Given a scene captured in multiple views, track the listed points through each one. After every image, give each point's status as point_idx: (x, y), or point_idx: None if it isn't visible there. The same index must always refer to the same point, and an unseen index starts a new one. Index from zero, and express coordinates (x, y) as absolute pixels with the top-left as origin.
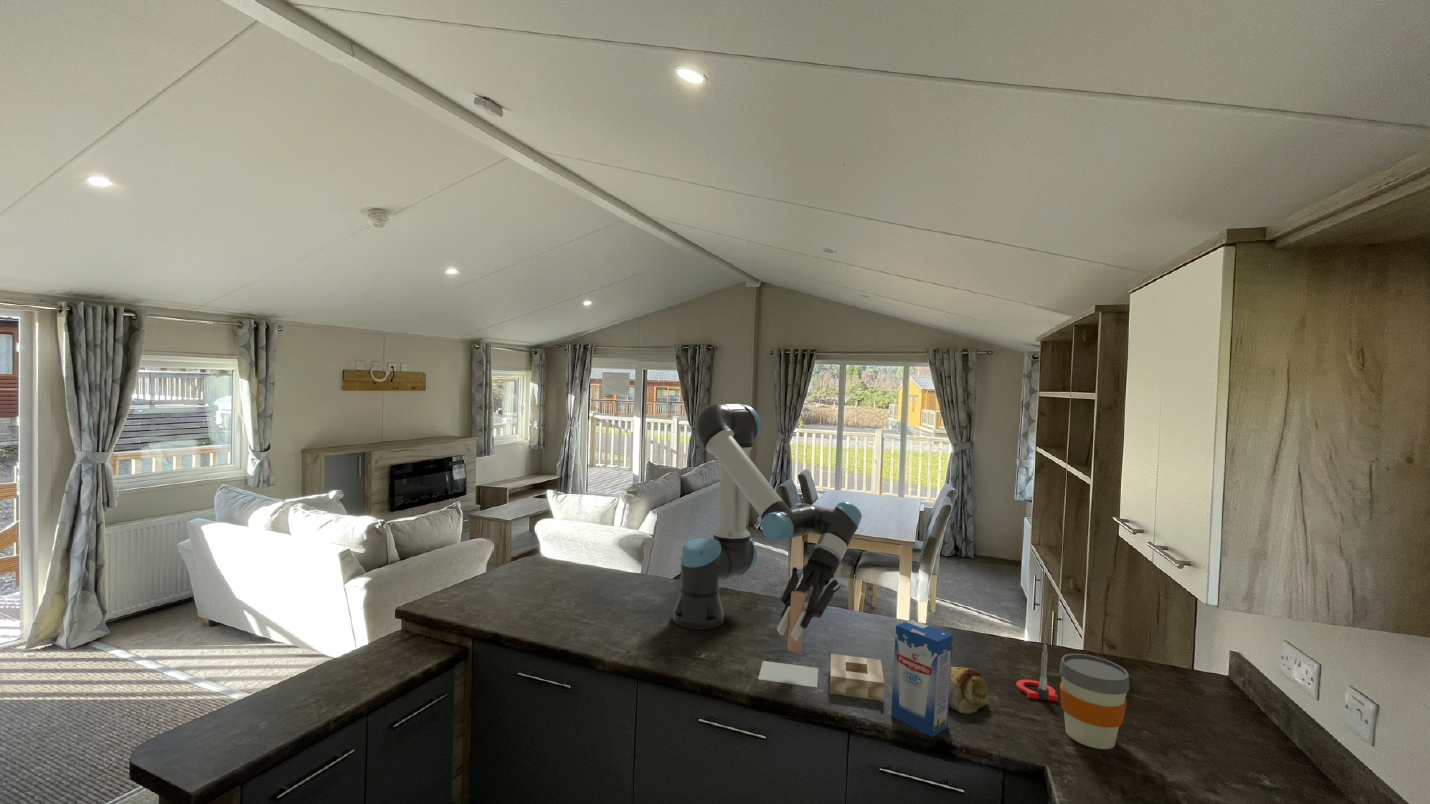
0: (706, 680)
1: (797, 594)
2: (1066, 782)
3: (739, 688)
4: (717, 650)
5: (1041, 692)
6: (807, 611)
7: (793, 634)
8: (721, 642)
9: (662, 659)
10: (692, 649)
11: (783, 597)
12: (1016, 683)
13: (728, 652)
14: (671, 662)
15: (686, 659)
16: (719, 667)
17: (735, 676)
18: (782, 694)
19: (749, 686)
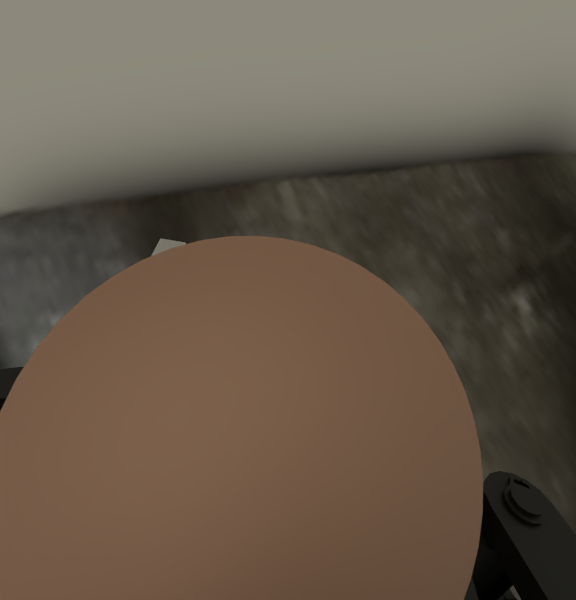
0: (410, 171)
1: (232, 340)
2: None
3: (307, 182)
4: (521, 374)
5: None
6: (3, 372)
7: (159, 244)
8: (556, 444)
9: (572, 209)
10: (571, 322)
11: (546, 527)
12: None
13: (488, 388)
14: (545, 208)
15: (534, 250)
16: (436, 267)
17: (363, 244)
18: (167, 226)
19: (289, 211)
